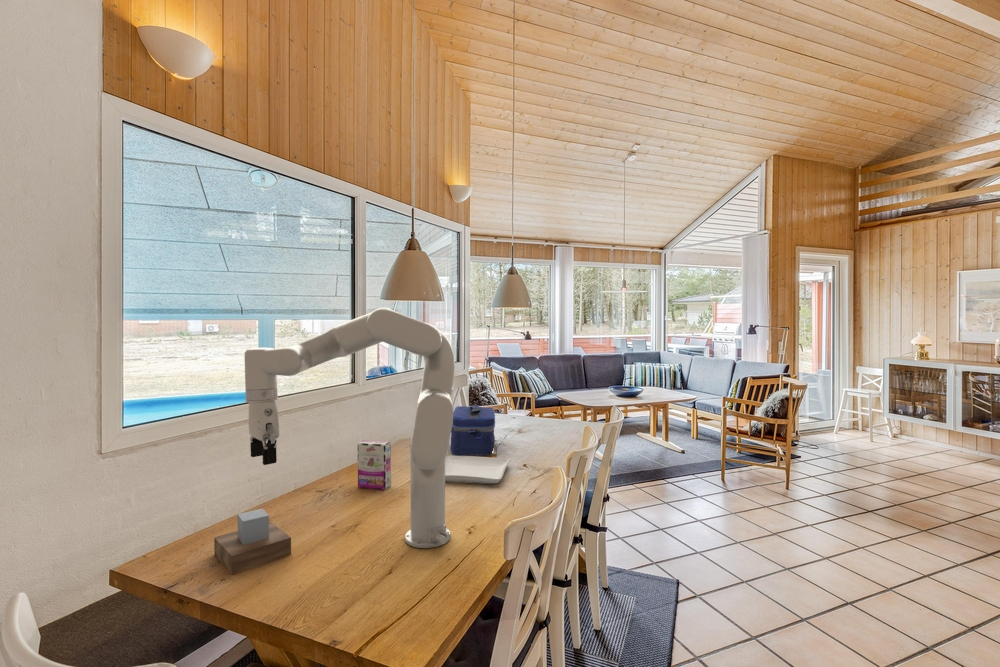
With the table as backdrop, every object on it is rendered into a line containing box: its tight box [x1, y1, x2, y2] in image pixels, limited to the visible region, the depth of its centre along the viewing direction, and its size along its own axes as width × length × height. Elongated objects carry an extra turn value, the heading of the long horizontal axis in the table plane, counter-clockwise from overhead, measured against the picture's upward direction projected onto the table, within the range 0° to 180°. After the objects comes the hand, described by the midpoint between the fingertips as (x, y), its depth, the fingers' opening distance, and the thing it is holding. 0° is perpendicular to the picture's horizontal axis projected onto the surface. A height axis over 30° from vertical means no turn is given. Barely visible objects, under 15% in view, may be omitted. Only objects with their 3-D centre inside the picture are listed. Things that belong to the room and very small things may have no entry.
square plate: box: [445, 455, 511, 485], centre depth 193 cm, size 27×27×4 cm
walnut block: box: [213, 521, 292, 575], centre depth 126 cm, size 14×14×5 cm
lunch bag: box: [450, 404, 496, 456], centre depth 231 cm, size 31×21×20 cm
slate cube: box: [237, 508, 270, 545], centre depth 126 cm, size 6×6×6 cm
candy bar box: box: [357, 440, 392, 491], centre depth 178 cm, size 11×5×16 cm, turn 76°
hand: (263, 459), depth 128 cm, fingers open, 9 cm apart
